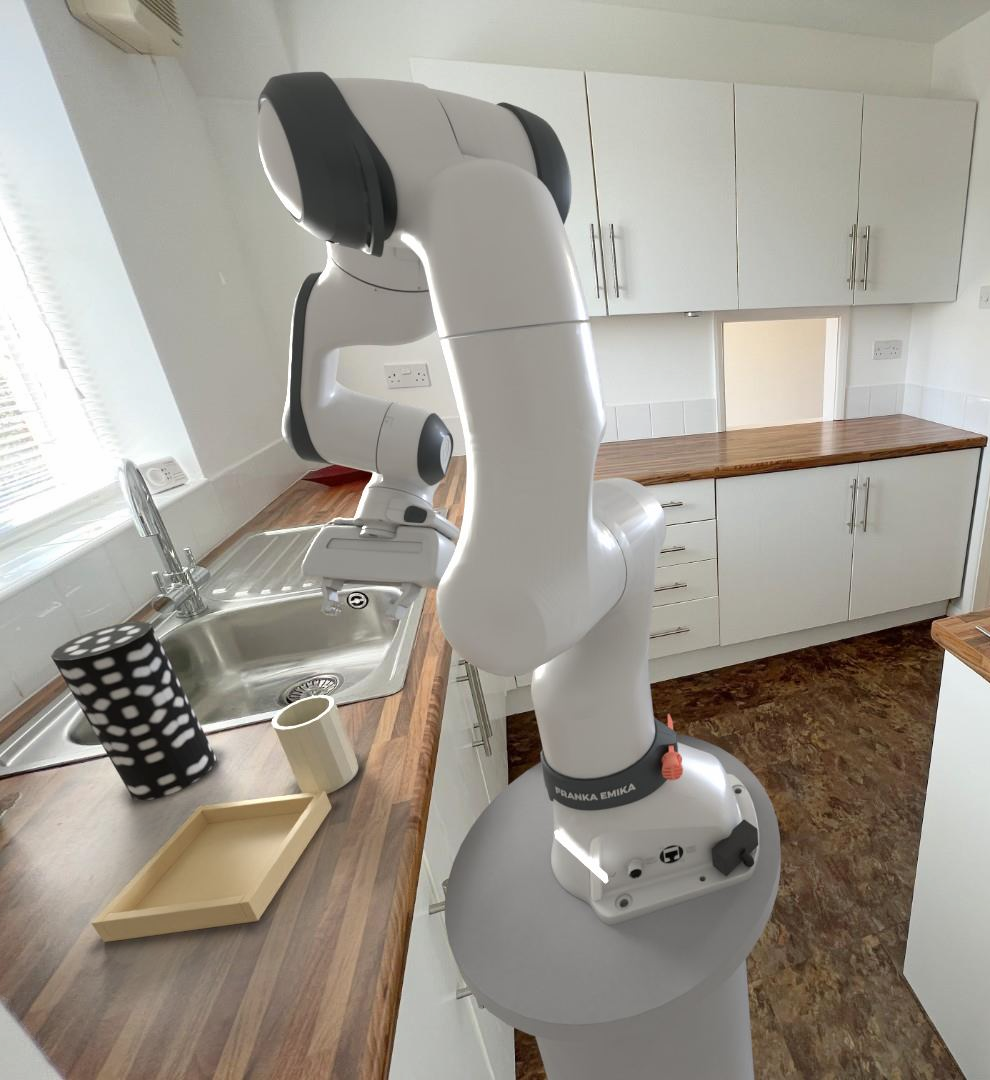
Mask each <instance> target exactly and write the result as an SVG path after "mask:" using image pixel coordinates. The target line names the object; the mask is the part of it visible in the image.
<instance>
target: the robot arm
mask: <svg viewBox="0 0 990 1080" xmlns="http://www.w3.org/2000/svg"><path fill="white" fill-rule="evenodd" d="M257 112H258V113H257V114H258V117H257V126H256V127H257V129H256V133H257V146H258V152H259V155H260V160H261V163H262V166H263V169H264V172H265V174H266V176H267V178H268V180H269V182H270V184H271V186H272V188H273V190H274V192H275V194H277V196H278V198H279V199H280V201H281V202H282V203H283V205H284V207H285V208H286V210H287V211H286V212H287V213H288V214H289V216H290V217H291V219H292V220H293V221H294V222H295V223H296V224H298V225H299V226H300V227H302V228H303V229H304V230H305V231H307V232H308V233H310V234H311V235H313V236H314V237H315V238H317V239H318V240H320V241H324V242H326V248H327V263H326V267H325V268H324V270H322V271H318V272H317V271H316V272H311V273H310V274H308V275H307V276H306V277H305V279H304V281H303V282H302V283H301V285H300V287H299V289H298V292H297V294H296V296H295V300H294V304H293V310H292V316H291V324H290V325H291V326H290V338H289V357H288V358H289V359H288V374H287V375H288V377H287V379H288V380H287V393H286V399H285V400H286V401H285V404H284V410H283V414H282V421H281V435H282V437H283V439H284V441H285V443H287V445H288V446H289V447H290V449H291V450H292V451H293V452H294V453H295V455H297V456H298V457H299V458H300V459H301V460H303V461H305V462H306V461H307V462H313V463H319V464H326V465H333V466H336V465H338V466H342V467H346V468H351V469H356V470H361V471H364V472H369V473H372V476H371V478H370V480H369V482H368V483H367V484H366V485H365V487H364V489H363V491H362V495H361V496H360V497H361V498H360V500H359V504H358V506H357V508H356V512H355V514H354V517H353V518H344V517H335V518H333V519H332V520H331V521H328V522H327V523H325V524H323V525H322V527H321V529H320V531H319V532H318V533H317V535H316V536H315V537H314V539H313V541H312V543H311V545H310V547H309V548H308V550H307V553H306V554H305V556H304V559H303V560H302V563H301V567H300V570H301V574H302V575H303V577H305V578H307V579H308V580H309V579H310V580H312V581H314V582H318V583H321V584H320V589H321V594H322V598H323V603H322V606H321V608H320V612H321V614H323V615H326V616H332V617H334V616H335V617H338V616H340V615H341V613H342V609H343V607H344V603H343V602H341V601H340V602H339V594H338V592H341V591H342V590H343V588H344V585H355V586H356V585H357V586H371V587H372V586H373V587H375V586H376V587H390V588H391V587H392V588H399V591H400V592H402V593H401V594H400V596H399V597H398V598H397V599H396V600H395V601H394V603H388V605H387V608H386V612H385V614H384V615H385V618H386V619H389V620H393V621H403V620H404V619H405V616H406V613H407V610H408V608H409V607H410V606H412V605H413V603H414V602H415V601H416V600H417V599H418V598H419V597H420V593H421V591H422V589H425V590H426V589H427V590H436V594H435V609H436V615H437V620H438V624H439V626H440V629H441V631H442V634H443V636H444V638H445V639H446V641H447V643H448V644H449V645H450V647H451V648H452V649H453V650H454V652H455V653H457V655H458V656H459V657H460V658H461V659H463V660H464V661H465V662H467V663H468V664H470V665H471V666H473V667H474V668H476V669H479V670H481V671H483V672H485V673H488V674H491V675H495V676H499V677H507V678H513V677H521V676H524V675H526V674H530V673H531V672H532V676H531V682H530V694H531V695H530V696H531V701H532V704H533V709H534V714H535V718H536V723H537V727H538V732H539V737H540V741H541V747H542V748H541V751H540V753H539V754H540V755H539V756H540V762H541V769H542V775H543V779H544V784H545V787H546V788H547V791H548V795H549V799H550V800H551V801H552V802H553V812H554V838H553V845H552V851H551V864H552V869H553V872H554V875H555V877H556V879H557V880H558V882H559V883H560V885H561V886H562V887H563V888H564V889H565V890H566V891H568V892H569V893H570V894H572V895H574V896H575V897H577V898H579V899H581V900H583V901H585V902H586V903H588V904H589V905H590V906H591V908H592V909H593V911H594V912H595V914H596V915H597V917H598V918H599V919H600V920H601V921H602V922H603V923H605V924H607V925H614V924H618V923H621V922H624V921H627V920H630V919H633V918H636V917H639V916H642V915H645V914H648V913H651V912H654V911H657V910H660V909H663V908H666V907H669V906H672V905H675V904H678V903H681V902H685V901H688V900H691V899H694V898H697V897H700V896H703V895H706V894H709V893H712V892H715V891H718V890H721V889H724V888H727V887H730V886H733V885H736V884H739V883H742V882H744V881H746V880H748V879H750V878H751V876H752V874H753V872H754V870H755V868H756V865H757V862H758V858H759V852H760V835H759V828H758V821H757V816H756V812H755V808H754V805H753V802H752V799H751V797H750V795H749V793H748V791H747V789H746V788H745V786H744V785H743V784H742V782H741V781H740V780H739V779H738V778H736V777H735V776H734V775H732V774H727V773H726V771H725V769H724V767H723V766H722V764H721V763H720V761H719V760H718V759H717V758H716V757H715V756H713V755H712V754H710V753H707V752H704V751H701V750H698V749H695V748H692V747H689V746H687V745H684V744H681V743H679V742H677V737H676V734H677V733H676V731H675V730H674V723H673V722H674V721H673V719H672V717H671V714H670V713H667V725H666V724H665V723H663V722H661V721H660V720H658V718H656V717H655V716H654V708H653V699H652V690H651V682H650V681H651V679H650V671H649V655H650V652H649V651H650V638H651V627H652V617H653V608H654V598H655V585H656V575H657V570H658V565H659V560H660V556H661V552H662V548H663V547H664V546H663V545H664V543H665V540H666V537H667V519H666V515H665V512H664V509H663V507H662V505H661V503H660V502H659V500H658V499H657V497H656V496H655V495H654V494H653V492H651V490H649V489H648V488H647V487H645V486H644V485H643V484H641V483H639V482H638V481H634V480H633V479H629V478H626V477H625V478H624V477H613V478H605V479H599V480H598V479H597V480H594V479H595V478H594V477H595V471H596V470H595V469H596V462H597V457H598V453H599V450H600V446H601V444H602V441H603V439H604V437H605V434H606V429H607V423H608V413H607V407H606V403H605V396H604V391H603V385H602V380H601V374H600V369H599V364H598V358H597V353H596V346H595V342H594V336H593V331H592V325H591V322H589V321H590V316H589V310H588V305H587V301H586V296H585V292H584V289H583V285H582V280H581V275H580V272H579V269H578V266H577V265H578V264H577V262H576V258H575V255H574V252H573V248H572V246H571V243H570V240H569V236H568V234H567V230H566V228H565V223H566V221H567V218H568V216H569V213H570V208H571V204H572V203H571V202H572V191H573V190H572V178H571V170H570V165H569V162H568V158H567V156H566V152H565V150H564V147H563V145H562V143H561V141H560V139H559V137H558V135H557V133H556V131H555V130H554V128H553V127H552V126H551V125H550V123H548V122H547V121H546V120H545V119H544V118H542V117H540V116H539V115H537V114H535V113H533V112H531V111H529V110H527V109H524V108H522V107H520V106H517V105H515V104H512V103H508V102H505V101H503V102H498V103H496V104H495V103H493V102H489V101H486V100H483V99H480V98H477V97H476V98H475V97H472V96H468V95H464V94H460V93H455V92H451V91H447V90H441V89H437V88H430V87H428V86H427V85H425V84H423V83H420V82H411V81H404V80H398V79H397V80H395V79H384V78H370V77H369V78H365V77H330V76H329V75H328V74H327V73H326V72H324V71H299V72H289V73H283V74H278V75H275V76H271V77H270V78H269V79H268V81H267V83H266V84H265V86H264V88H263V89H262V90H261V92H260V93H259V96H258V100H257ZM436 331H437V332H438V336H439V338H440V339H441V340H440V344H441V347H442V352H443V355H444V359H445V363H446V367H447V370H448V375H449V378H450V382H451V386H452V390H453V395H454V399H455V402H456V407H457V411H458V415H459V419H460V423H461V428H462V432H463V438H464V446H465V456H466V458H465V459H466V481H465V482H466V483H465V498H464V507H463V516H462V522H461V527H460V529H459V528H458V526H456V525H455V524H454V523H453V522H451V521H450V520H449V519H447V518H446V517H444V516H443V515H441V514H439V513H438V512H436V511H434V510H433V508H434V495H435V492H436V490H437V489H438V487H439V486H440V484H441V482H442V480H443V479H445V478H446V476H447V474H448V470H449V466H450V463H451V459H452V456H453V452H454V438H453V437H454V436H453V434H452V433H451V432H450V429H449V427H448V425H447V424H446V423H445V422H444V420H442V418H441V417H440V416H439V415H438V414H437V413H436V412H433V411H430V410H428V409H425V408H422V407H418V406H415V405H410V404H407V403H403V402H399V401H393V400H389V399H385V398H380V397H377V396H373V395H369V394H365V393H363V392H358V391H355V390H352V389H350V388H348V387H346V386H344V385H343V384H341V383H339V381H337V375H338V366H339V359H340V350H341V348H346V347H354V346H355V347H356V346H381V347H382V346H383V347H384V346H385V347H392V346H393V347H394V346H402V345H407V344H413V343H415V342H418V341H420V340H424V338H427V337H428V336H431V335H432V334H433V333H436ZM456 541H457V543H456V544H455V543H454V542H456ZM736 793H740V794H736ZM624 904H628V905H627V906H626V907H621V906H622V905H624Z"/></svg>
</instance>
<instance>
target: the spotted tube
mask: <svg viewBox="0 0 990 1080" xmlns="http://www.w3.org/2000/svg"><path fill="white" fill-rule="evenodd" d="M50 657H51V659H52V661H53V662H54V664H55V666H56V668H57V669H58V671H59V673H60V675H61V676H62V678H63V680H64V682H65V683H66V685H67V687H68V689H69V691H70V692H71V693H72V695H73V697H74V699H75V701H76V703H77V704H78V706H79V707H80V709H81V711H82V713H83V714H84V715H83V716H84V717H85V718H86V721H88V723H89V725H90V726H91V729H92V730H93V732H94V735H96V738H97V739H98V740H99V743H100V744H101V746H102V747H103V749H104V751H105V753H106V755H107V756H108V758H109V759H110V762H111V764H112V765H113V766H114V768H115V770H116V772H117V774H118V775H119V777H120V779H121V781H122V782H123V784H124V786H125V787H126V790H127V791H128V793H129V794H130V796H131V798H132V799H135V800H136V801H150V800H155V799H159V798H164V797H167V796H170V795H173V794H174V793H177V792H179V791H181V790H183V789H186V788H188V787H189V786H190V785H192V784H193V783H196V782H197V781H199V780H200V779H202V778H203V777H204V776H206V774H207V773H208V772H209V771H211V770H212V768H214V765H215V763H216V761H217V757H216V754H215V752H214V750H213V748H212V745H211V744H210V742H209V740H208V738H207V735H206V734H205V732H204V730H203V727H202V726H201V723H200V721H199V719H198V717H197V715H196V712H195V711H194V709H193V707H192V705H191V703H190V701H189V698H188V696H187V695H186V692H185V690H184V689H183V686H182V684H181V683H180V681H179V680H180V679H179V678H178V676H177V674H176V672H175V670H174V668H173V666H172V664H171V662H170V660H169V658H168V655H167V654H166V651H165V650H164V648H163V646H162V644H161V642H160V640H159V638H158V635H157V633H156V631H155V629H154V627H153V624H152V623H151V622H148V621H129V622H123V623H120V624H114V625H109V626H106V627H103V628H100V629H96V630H94V631H90V632H88V633H84V634H82V635H80V636H78V637H75V638H73V639H71V640H68V641H67V642H65V643H64V644H61V645H60V646H59V647H57V648H56V649H54V651H53V652H52V653H51V656H50Z"/></svg>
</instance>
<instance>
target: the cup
mask: <svg viewBox="0 0 990 1080" xmlns="http://www.w3.org/2000/svg"><path fill="white" fill-rule="evenodd" d="M271 727H272V729H273V732H274V734H275V736H276V738H277V741H278V744H279V745H280V748H281V750H282V752H283V756H284V757H285V759H286V762H287V764H288V766H289V768H290V771H291V773H292V775H293V776H292V777H293V778H294V781H295V783H296V785H297V787H298V789H299V791H300V794H302V793H310V792H319V791H325V793H326V795H329V794H331V793H333V792H335V791H338V790H340V789H341V788H342V787H344V786H346V785H347V784H348V783H349V782H351V781H352V780H353V778H354V777H355V776H356V775H357V773H358V771H359V763H358V759H357V756H356V754H355V751H354V748H353V745H352V743H351V740H350V738H349V735H348V731H347V729H346V727H345V724H344V721H343V718H342V716H341V713H340V710H339V708H338V705H337V703H336V700H335V699H334V698H333V697H332V696H331V695H325V694H319V695H311V696H308V697H305V698H302V699H299V700H297V701H295V702H292V703H290V704H288V705H286V706H285V707H284V708H282V709H281V710H279V711H278V712H277V713H276V714H275V715H274V716H273V717H272V720H271Z"/></svg>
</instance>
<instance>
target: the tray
mask: <svg viewBox="0 0 990 1080" xmlns="http://www.w3.org/2000/svg"><path fill="white" fill-rule="evenodd" d="M331 810H332V805H331V803H330V800H329V797H328V794H326V793H325V791H319V792H310V793H295V794H286V795H279V796H278V795H277V796H270V797H263V798H262V797H261V798H254V799H246V800H245V799H244V800H237V801H227V802H221V803H220V802H219V803H213V804H205V805H198V807H197V808H196V809H195V810H194V811H193V812H192V813H191V814H190V816H189V817H187V819H186V820H185V821H184V822H183V823H182V824H181V825H180V826H179V827H178V829H176V831H175V832H174V833H173V834H172V835H171V836H170V837H169V838H168V839H167V840H166V841H165V842H164V844H163V845H162V846H161V847H160V848H159V849H158V850H157V851H156V853H154V854H153V856H152V857H151V858H150V859H149V860H148V861H147V862H146V863H145V864H144V865H143V866H142V867H141V868H140V870H139V871H138V872H137V873H136V874H135V875H134V876H133V877H132V878H131V879H130V880H129V882H128V883H127V884H126V885H125V886H124V887H123V888H122V889H121V890H120V891H119V893H118V894H116V896H115V897H114V898H113V899H112V900H111V901H110V902H109V904H108V905H106V907H105V908H104V909H103V910H102V911H101V912H100V914H99V913H98V915H97V917H95V919H94V920H93V921H91V925H92V926H93V928H94V929H95V931H96V932H97V934H98V935H99V937H100V938H101V940H102V941H103V942H104V943H107V942H116V941H123V940H129V939H136V938H145V937H151V936H158V935H159V936H160V935H166V934H173V933H181V932H188V931H195V930H203V929H209V928H216V927H217V928H218V927H224V926H231V925H238V924H239V925H240V924H246V923H253V922H258V921H259V920H260V919H261V917H262V915H263V914H264V913H265V911H266V909H267V908H268V907H269V905H270V903H271V902H272V900H273V899H274V897H275V896H276V894H277V893H278V891H279V890H280V888H281V886H282V885H283V884H284V882H285V880H286V879H287V877H288V876H289V874H290V873H291V871H292V870H293V868H294V866H295V865H296V863H297V862H298V860H299V859H300V857H301V856H302V854H303V853H304V851H305V849H306V848H307V847H308V845H309V843H310V842H311V840H312V839H313V837H314V836H315V834H316V832H317V831H318V829H319V828H320V827H321V825H322V823H323V822H324V820H325V819H326V817H327V815H328V814H329V813H330V811H331Z"/></svg>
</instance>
